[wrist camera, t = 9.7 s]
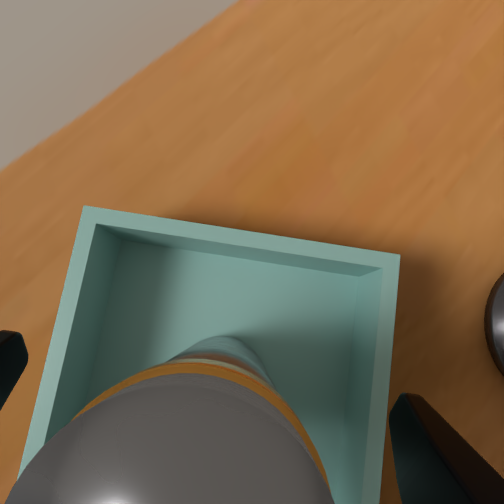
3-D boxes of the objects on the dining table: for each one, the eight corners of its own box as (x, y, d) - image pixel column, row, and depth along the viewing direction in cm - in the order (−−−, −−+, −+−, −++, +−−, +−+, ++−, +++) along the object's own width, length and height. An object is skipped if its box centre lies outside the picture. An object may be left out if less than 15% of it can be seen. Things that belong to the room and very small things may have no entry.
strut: (282, 417, 16) (414, 711, 4) (186, 451, 16) (18, 886, 4) (251, 320, 16) (286, 329, 5) (158, 351, 16) (-61, 446, 4)
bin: (340, 553, 16) (368, 622, 12) (53, 507, 16) (-3, 562, 12) (368, 267, 18) (400, 254, 14) (115, 228, 18) (83, 205, 14)
